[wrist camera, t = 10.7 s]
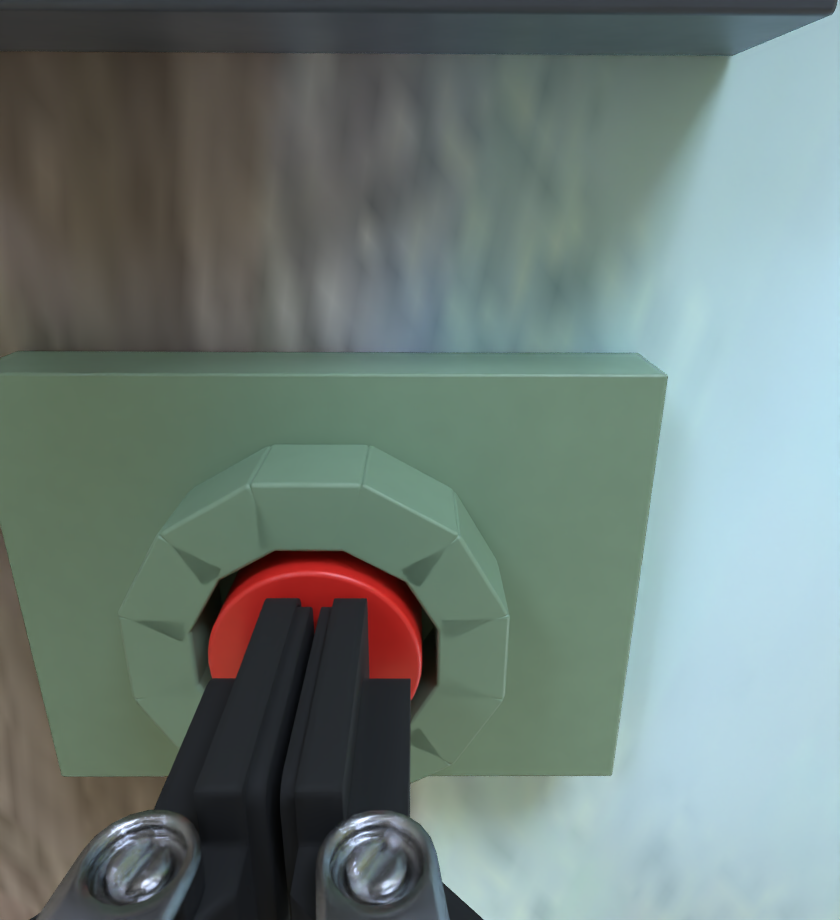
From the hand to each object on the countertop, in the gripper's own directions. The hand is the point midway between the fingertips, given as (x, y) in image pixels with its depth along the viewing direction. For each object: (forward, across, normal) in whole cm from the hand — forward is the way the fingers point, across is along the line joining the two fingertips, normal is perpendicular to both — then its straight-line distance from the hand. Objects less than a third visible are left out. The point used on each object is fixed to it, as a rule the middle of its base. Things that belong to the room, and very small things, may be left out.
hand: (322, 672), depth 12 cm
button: (+2, 0, 0) cm, 2 cm away
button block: (+4, 0, 0) cm, 4 cm away
